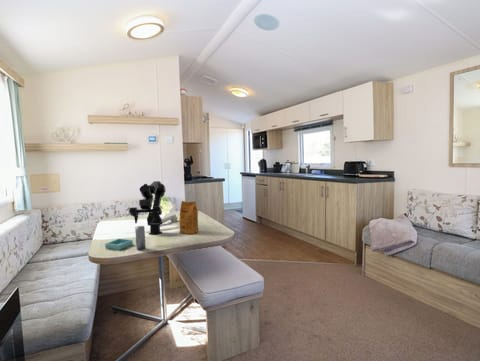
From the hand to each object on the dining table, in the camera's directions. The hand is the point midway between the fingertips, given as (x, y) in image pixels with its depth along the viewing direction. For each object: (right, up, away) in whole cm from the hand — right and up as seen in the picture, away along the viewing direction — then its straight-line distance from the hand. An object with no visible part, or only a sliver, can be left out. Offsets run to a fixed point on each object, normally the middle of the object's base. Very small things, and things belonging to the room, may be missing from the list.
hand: (143, 222), depth 170 cm
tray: (-14, -14, -1) cm, 20 cm away
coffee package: (+23, -11, +26) cm, 36 cm away
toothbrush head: (-1, -9, +53) cm, 54 cm away
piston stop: (+1, -14, -6) cm, 16 cm away
